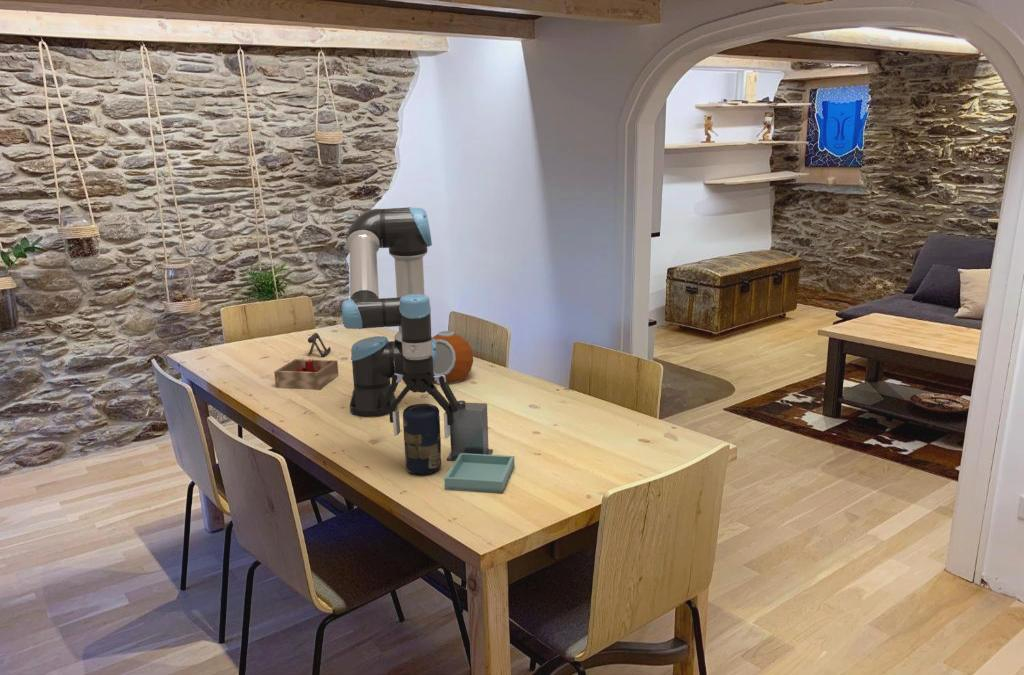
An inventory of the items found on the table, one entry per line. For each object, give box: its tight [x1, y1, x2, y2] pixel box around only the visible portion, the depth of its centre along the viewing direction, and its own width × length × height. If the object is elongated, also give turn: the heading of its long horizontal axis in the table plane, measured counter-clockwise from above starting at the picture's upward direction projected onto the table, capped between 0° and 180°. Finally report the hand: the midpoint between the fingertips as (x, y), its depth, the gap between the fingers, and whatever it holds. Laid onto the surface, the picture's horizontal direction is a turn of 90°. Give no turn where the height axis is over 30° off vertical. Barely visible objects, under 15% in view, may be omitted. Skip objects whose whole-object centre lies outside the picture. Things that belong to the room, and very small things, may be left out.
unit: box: [446, 400, 494, 462], centre depth 201 cm, size 11×8×16 cm
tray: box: [443, 453, 515, 494], centre depth 189 cm, size 15×16×3 cm
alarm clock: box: [432, 330, 474, 385], centre depth 269 cm, size 19×18×17 cm
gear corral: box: [274, 358, 340, 390], centre depth 271 cm, size 17×16×6 cm
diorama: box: [297, 358, 321, 372], centre depth 271 cm, size 11×12×8 cm
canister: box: [402, 403, 442, 475], centre depth 193 cm, size 10×10×18 cm
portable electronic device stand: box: [307, 332, 332, 358], centre depth 306 cm, size 9×8×8 cm
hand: (422, 435), depth 193 cm, fingers open, 13 cm apart
